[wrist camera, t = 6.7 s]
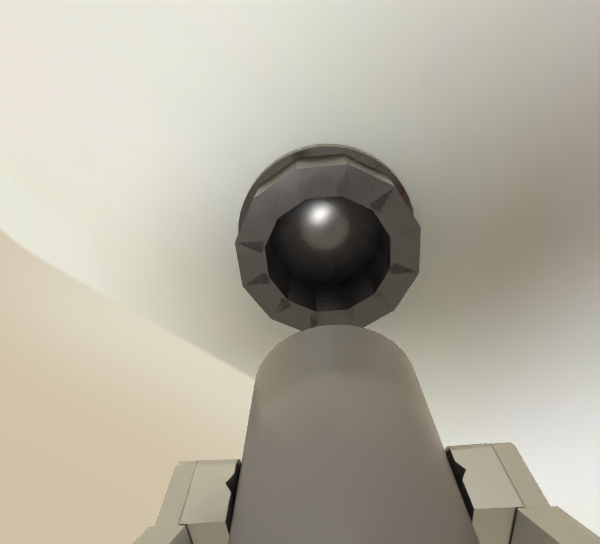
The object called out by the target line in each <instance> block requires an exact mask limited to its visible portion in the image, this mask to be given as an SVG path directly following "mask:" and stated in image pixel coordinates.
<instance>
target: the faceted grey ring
mask: <svg viewBox="0 0 600 544" xmlns="http://www.w3.org/2000/svg"><path fill="white" fill-rule="evenodd" d="M235 245H236V251H237V257H238V262H239V268H240V274H241V279H242V285H243V287H244V288H245V289H246V290H247V292H248V293H249V294H250V295H251V296H252V297H253V298H254V300H255V301H256V302H257V303H258V304H259V305H260V307H261V308H262V309H263V310H264V311H265V312H266V313H267V315H268V316H269V317H270V318H271V319H273V320H276V321H278V322H281V323H283V324H286V325H288V326H291V327H294V328H296V329H299V330H301V331H304V330H306V329H310V328H314V327H318V326H325V325H351V326H357V327H362V328H363V327H365V326H367V325H368V324H370V323H372V322H374V321H376V320H377V319H379V318H381V317H383V316H384V315H386V314H388V313H390V312H392V311H393V310H394V309H395V308H396V307H397V305H398V304H399V302H400V301H401V299H402V298H403V296H404V295H405V293H406V292H407V290H408V289H409V287H410V285H411V284H412V282H413V281H414V279H415V278H416V276H417V275H418V272H419V255H420V226H419V224H418V223H417V221H416V219H415V218H414V214H413V209H412V206H411V203H410V200H409V197H408V195H407V193H406V191H405V189H404V187H403V186H402V185H401V183H400V182H399V180H398V179H397V178H396V176H395V175H394V174H393V173H392V172H391V171H390V170H389V169H388V168H387V167H386V166H385V165H384V164H383V163H381V162H380V161H379V160H378V159H376V158H375V157H373V156H371V155H369V154H368V153H366V152H363V151H361V150H358V149H356V148H352V147H348V146H344V145H337V144H318V145H312V146H306V147H303V148H300V149H296V150H294V151H292V152H290V153H287V154H285V155H284V156H282V157H280V158H279V159H277V160H276V161H274V162H273V163H272V164H271V165H270V166H268V167H267V168H266V169H265V170H264V171H263V172H262V173H261V175H260V176H259V177H258V178H257V179H256V181H255V182H254V184H253V185H252V187H251V189H250V191H249V193H248V195H247V197H246V199H245V201H244V204H243V207H242V210H241V213H240V219H239V231H238V237H237V239H236V242H235Z"/></svg>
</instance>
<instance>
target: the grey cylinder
mask: <svg viewBox="0 0 600 544" xmlns="http://www.w3.org/2000/svg"><path fill="white" fill-rule="evenodd" d="M228 544H480V543H479V540H478V537H477V535H476V532H475V530H474V527H473V524H472V522H471V519H470V516H469V514H468V511H467V508H466V506H465V503H464V501H463V498H462V495H461V493H460V490H459V487H458V485H457V482H456V479H455V477H454V474H453V471H452V469H451V466H450V464H449V461H448V458H447V456H446V453H445V450H444V448H443V445H442V442H441V440H440V437H439V435H438V432H437V429H436V427H435V424H434V421H433V419H432V416H431V413H430V411H429V408H428V406H427V403H426V400H425V398H424V395H423V392H422V390H421V387H420V384H419V382H418V379H417V377H416V374H415V371H414V369H413V366H412V364H411V362H410V360H409V359H408V357H407V356H406V354H405V353H404V352H403V351H402V350H401V349H400V348H399V347H398V346H397V345H396V344H395V343H394V342H392V341H391V340H389V339H388V338H386V337H385V336H383V335H381V334H379V333H377V332H374V331H371V330H368V329H365V328H362V327H357V326H351V325H325V326H318V327H314V328H310V329H306V330H304V331H301V332H298V333H296V334H294V335H292V336H290V337H288V338H287V339H285V340H284V341H282V342H281V343H279V344H278V345H277V346H276V347H275V348H274V349H273V350H271V352H270V353H269V354H268V355H267V356H266V358H265V359H264V361H263V362H262V364H261V366H260V368H259V370H258V373H257V376H256V380H255V385H254V391H253V397H252V404H251V409H250V415H249V421H248V427H247V434H246V439H245V445H244V451H243V458H242V463H241V469H240V475H239V481H238V487H237V493H236V499H235V505H234V511H233V517H232V522H231V528H230V534H229V540H228Z"/></svg>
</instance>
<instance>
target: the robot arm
mask: <svg viewBox="0 0 600 544" xmlns="http://www.w3.org/2000/svg"><path fill="white" fill-rule="evenodd" d="M445 453H446V456H447V458H448V461H449V464H450V466H451V469H452V471H453V474H454V477H455V479H456V482H457V485H458V487H459V490H460V493H461V495H462V498H463V501H464V503H465V506H466V508H467V511H468V514H469V516H470V519H471V522H472V524H473V527H474V530H475V532H476V535H477V537H478V540H479V543H480V544H600V537H598V536H597V535H596V534H594V533H593V532H592V531H590V530H589V529H588V528H586V527H585V526H584V525H582V524H581V523H579V522H578V521H577V520H575V519H574V518H573V517H571V516H570V515H569V514H567V513H566V512H565V511H563V510H562V509H560V508H559V507H558V506H552V507H551V506H550V505H549V503H548V501H547V499H546V498H545V496H544V494H543V493H542V491H541V489H540V488H539V486H538V484H537V482H536V481H535V479H534V477H533V476H532V474H531V472H530V471H529V469H528V467H527V465H526V464H525V462H524V460H523V459H522V457H521V455H520V453H519V452H518V450H517V448H516V447H515V445H513V444H512V443H511V442H509V443H492V444H487V443H486V444H472V445H458V446H447V447H446V449H445ZM240 469H241V461H240V460H239V459H234V460H200V461H180V462H179V463H178V465H177V466H176V467H175V470H174V473H173V475H172V478H171V481H170V484H169V487H168V490H167V493H166V496H165V499H164V502H163V505H162V508H161V511H160V514H159V516H158V519H157V522H156V525H155V526H154V527H149V528H148V529H146V530H145V532H144V533H143V534H142V535H141V536H140V537H139V538H138V539H137V540H136V541H135V542H134V543H133V544H228V540H229V534H230V528H231V522H232V517H233V511H234V505H235V499H236V493H237V487H238V481H239V475H240Z"/></svg>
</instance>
